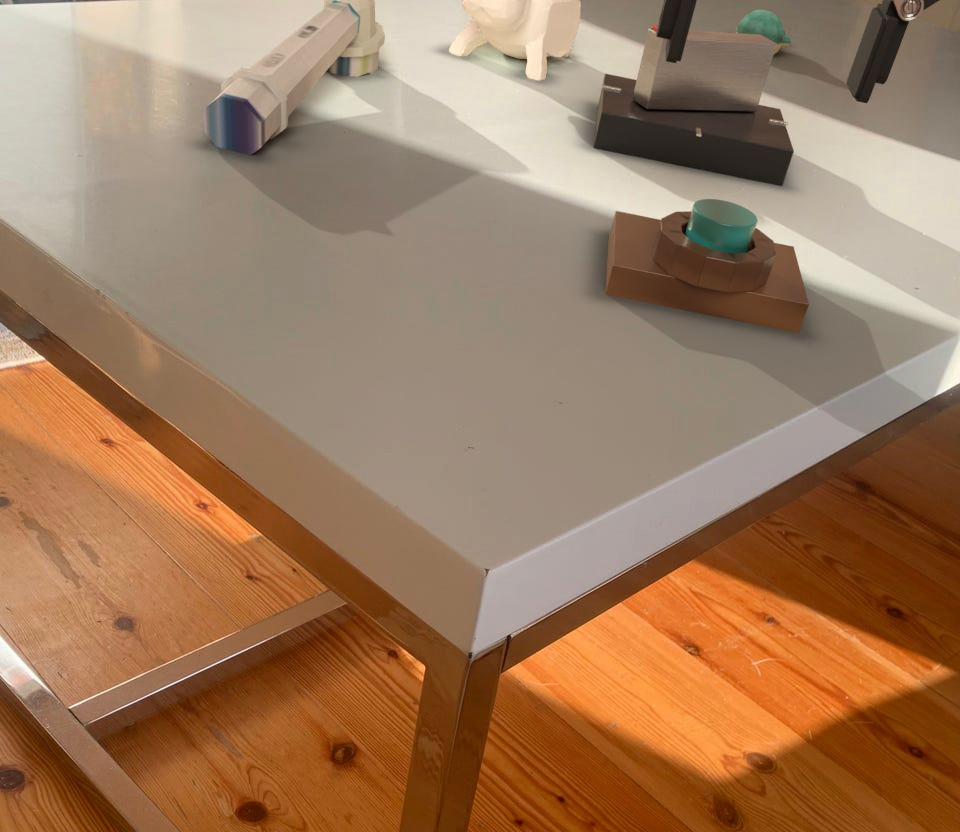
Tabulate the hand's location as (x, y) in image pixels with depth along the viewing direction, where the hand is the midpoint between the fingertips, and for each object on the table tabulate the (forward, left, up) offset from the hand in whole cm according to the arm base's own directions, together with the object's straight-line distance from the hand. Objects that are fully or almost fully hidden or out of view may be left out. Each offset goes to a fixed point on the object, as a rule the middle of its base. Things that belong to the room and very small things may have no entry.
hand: (764, 75), depth 57 cm
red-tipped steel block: (0, -27, -9) cm, 29 cm away
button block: (0, -1, -13) cm, 13 cm away
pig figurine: (+15, -39, -13) cm, 44 cm away
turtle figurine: (-9, -63, -13) cm, 65 cm away
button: (0, 0, -9) cm, 9 cm away
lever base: (0, -26, -13) cm, 29 cm away
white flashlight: (+28, -19, -13) cm, 36 cm away
